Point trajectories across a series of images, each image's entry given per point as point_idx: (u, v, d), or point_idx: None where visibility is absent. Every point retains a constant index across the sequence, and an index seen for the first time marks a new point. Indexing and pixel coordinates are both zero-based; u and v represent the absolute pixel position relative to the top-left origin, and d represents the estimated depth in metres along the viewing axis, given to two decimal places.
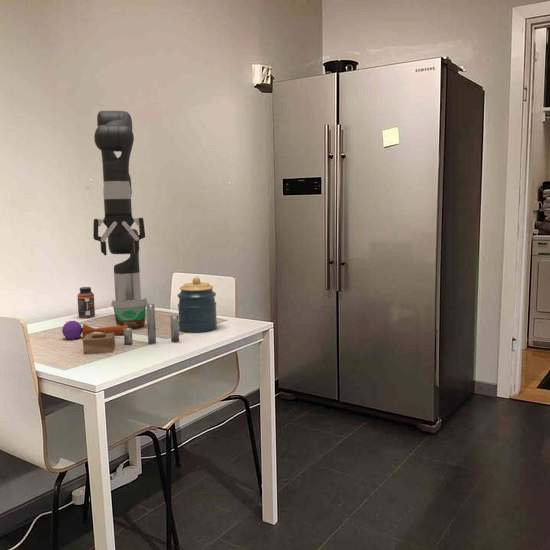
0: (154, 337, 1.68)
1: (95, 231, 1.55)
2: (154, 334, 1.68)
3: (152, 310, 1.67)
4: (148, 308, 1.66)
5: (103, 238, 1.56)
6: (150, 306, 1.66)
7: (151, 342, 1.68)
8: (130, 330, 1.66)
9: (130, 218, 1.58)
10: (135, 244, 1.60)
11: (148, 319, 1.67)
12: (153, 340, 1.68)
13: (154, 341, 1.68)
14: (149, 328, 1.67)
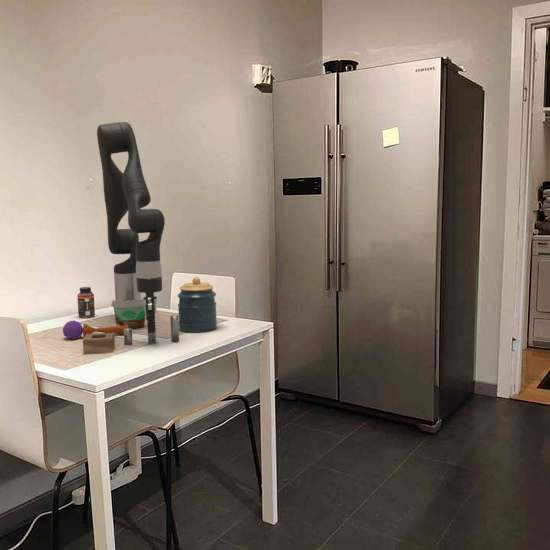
0: (154, 337, 1.68)
1: (154, 313, 1.63)
2: (154, 334, 1.68)
3: None
4: None
5: None
6: None
7: (151, 342, 1.68)
8: (130, 330, 1.66)
9: None
10: None
11: None
12: (153, 340, 1.68)
13: (154, 341, 1.68)
14: None
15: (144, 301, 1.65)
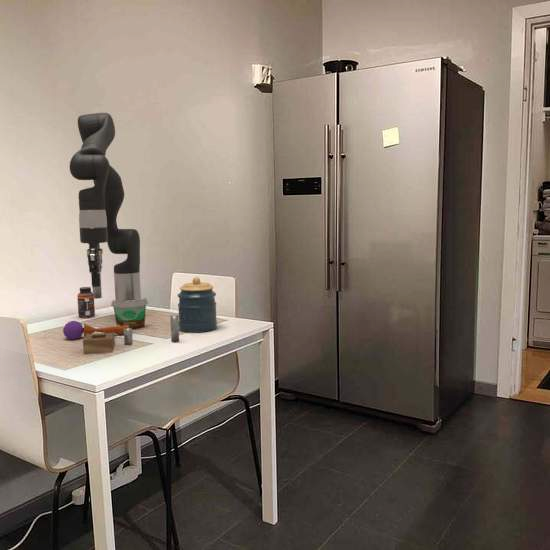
0: (99, 291, 1.59)
1: (98, 265, 1.54)
2: (99, 288, 1.59)
3: None
4: None
5: (99, 270, 1.57)
6: None
7: (96, 297, 1.59)
8: (130, 330, 1.66)
9: (99, 246, 1.62)
10: None
11: None
12: (98, 294, 1.59)
13: (99, 296, 1.59)
14: None
15: (88, 252, 1.56)
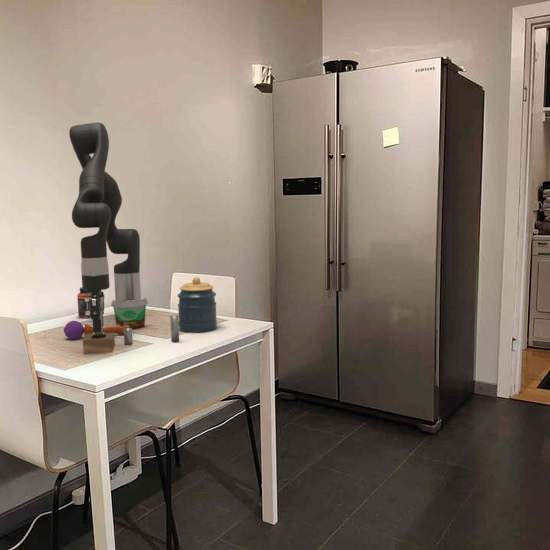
0: None
1: (99, 310, 1.55)
2: None
3: None
4: (95, 313, 1.59)
5: (100, 315, 1.57)
6: None
7: None
8: (130, 330, 1.66)
9: (101, 291, 1.63)
10: None
11: None
12: None
13: None
14: (96, 334, 1.60)
15: (89, 299, 1.58)
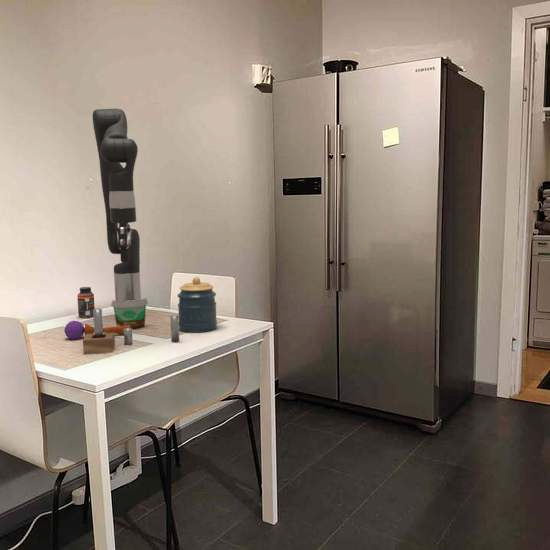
0: None
1: (126, 239, 1.61)
2: None
3: (99, 315, 1.60)
4: (95, 313, 1.59)
5: (128, 245, 1.64)
6: (97, 311, 1.59)
7: None
8: (130, 330, 1.66)
9: None
10: (130, 249, 1.72)
11: (95, 325, 1.60)
12: None
13: None
14: (96, 334, 1.60)
15: (117, 230, 1.65)
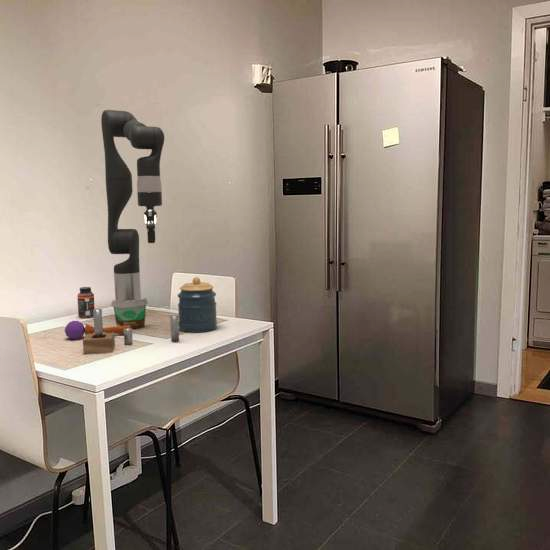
0: None
1: (154, 221, 1.70)
2: None
3: (99, 315, 1.60)
4: (95, 313, 1.59)
5: None
6: (97, 311, 1.59)
7: None
8: (130, 330, 1.66)
9: None
10: None
11: (95, 325, 1.60)
12: None
13: None
14: (96, 334, 1.60)
15: (145, 213, 1.73)
